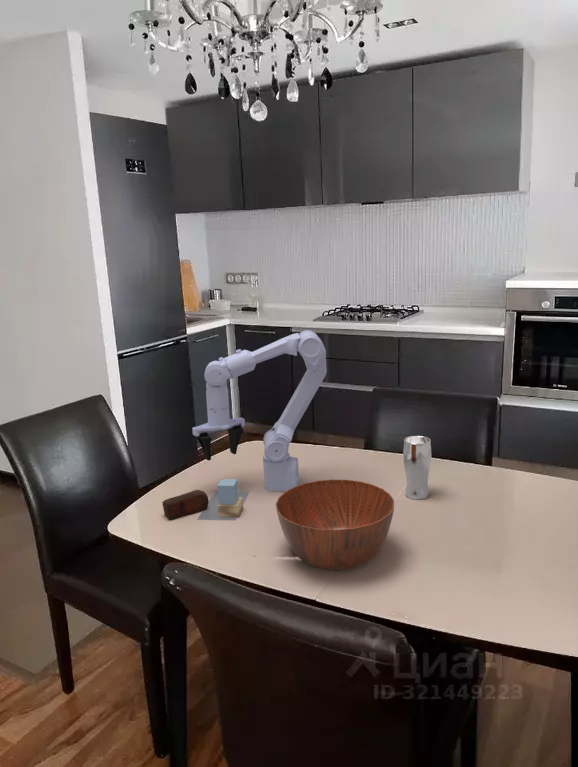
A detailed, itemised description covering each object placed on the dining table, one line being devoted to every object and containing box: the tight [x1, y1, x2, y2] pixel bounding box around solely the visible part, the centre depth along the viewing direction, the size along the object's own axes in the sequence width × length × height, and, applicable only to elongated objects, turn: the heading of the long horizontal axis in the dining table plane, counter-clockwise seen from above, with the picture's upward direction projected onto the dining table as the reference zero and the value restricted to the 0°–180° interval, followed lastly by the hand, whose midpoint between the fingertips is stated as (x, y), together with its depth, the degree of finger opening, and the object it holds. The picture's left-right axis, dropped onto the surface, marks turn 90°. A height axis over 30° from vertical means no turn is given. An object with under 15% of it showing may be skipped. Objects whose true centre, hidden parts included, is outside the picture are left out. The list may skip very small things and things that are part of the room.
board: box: [197, 490, 250, 521], centre depth 153 cm, size 10×17×1 cm, turn 172°
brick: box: [161, 489, 209, 521], centre depth 150 cm, size 11×4×5 cm, turn 122°
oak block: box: [218, 497, 244, 518], centre depth 148 cm, size 5×5×3 cm
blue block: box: [217, 478, 239, 505], centre depth 147 cm, size 4×4×5 cm
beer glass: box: [402, 435, 432, 500], centre depth 154 cm, size 7×7×15 cm
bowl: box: [275, 478, 395, 571], centre depth 128 cm, size 25×25×11 cm
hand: (220, 456), depth 160 cm, fingers open, 7 cm apart
